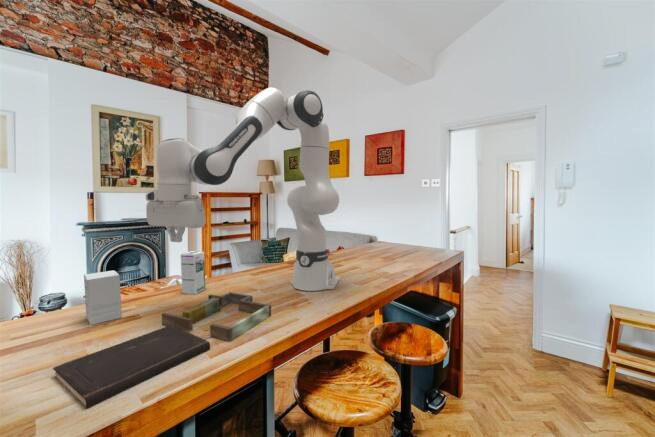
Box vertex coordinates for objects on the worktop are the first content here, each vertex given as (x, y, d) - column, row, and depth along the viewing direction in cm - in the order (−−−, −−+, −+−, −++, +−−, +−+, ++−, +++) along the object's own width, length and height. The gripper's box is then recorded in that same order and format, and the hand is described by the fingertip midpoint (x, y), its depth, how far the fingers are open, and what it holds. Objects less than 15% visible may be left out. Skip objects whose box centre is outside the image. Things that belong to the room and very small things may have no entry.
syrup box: (196, 294, 105) (195, 253, 104) (181, 293, 106) (180, 253, 105) (205, 289, 111) (204, 251, 110) (191, 288, 112) (190, 250, 111)
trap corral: (220, 299, 100) (220, 290, 100) (279, 309, 91) (279, 300, 91) (162, 324, 80) (161, 313, 80) (229, 341, 71) (229, 329, 71)
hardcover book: (53, 378, 57) (52, 367, 57) (171, 333, 76) (171, 324, 76) (86, 412, 48) (85, 398, 48) (210, 351, 68) (210, 341, 67)
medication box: (214, 309, 92) (213, 296, 92) (221, 310, 91) (220, 297, 91) (182, 325, 81) (181, 310, 80) (189, 326, 80) (188, 312, 79)
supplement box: (117, 310, 90) (115, 269, 89) (122, 318, 84) (120, 274, 83) (85, 317, 84) (83, 273, 83) (88, 325, 79) (86, 279, 78)
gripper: (210, 195, 86) (211, 242, 87) (160, 194, 94) (162, 238, 95) (192, 195, 80) (193, 245, 81) (141, 194, 88) (143, 241, 89)
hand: (176, 241), depth 88 cm, fingers closed
